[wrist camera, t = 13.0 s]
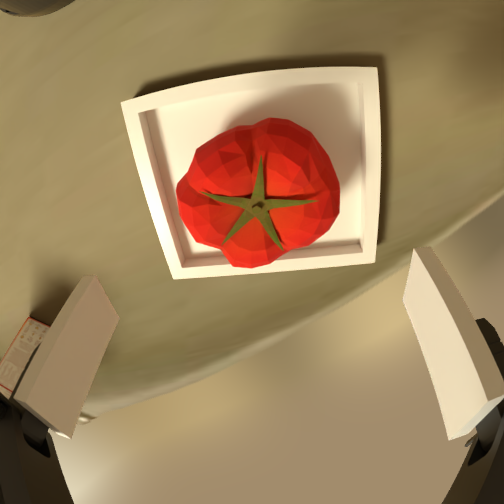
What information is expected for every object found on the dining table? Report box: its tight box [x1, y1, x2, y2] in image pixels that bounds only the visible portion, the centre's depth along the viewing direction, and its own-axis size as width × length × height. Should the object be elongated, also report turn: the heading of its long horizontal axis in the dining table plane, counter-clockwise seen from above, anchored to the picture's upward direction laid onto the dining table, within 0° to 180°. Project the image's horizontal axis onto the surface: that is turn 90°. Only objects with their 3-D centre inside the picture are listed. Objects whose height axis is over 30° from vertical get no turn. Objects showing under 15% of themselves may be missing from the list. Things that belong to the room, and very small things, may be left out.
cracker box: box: [0, 317, 50, 399], centre depth 33 cm, size 14×6×21 cm, turn 163°
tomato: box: [176, 117, 340, 269], centre depth 20 cm, size 10×11×6 cm
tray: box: [121, 67, 381, 279], centre depth 23 cm, size 16×18×2 cm
